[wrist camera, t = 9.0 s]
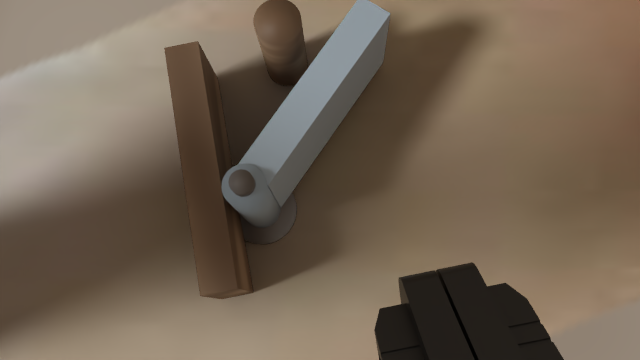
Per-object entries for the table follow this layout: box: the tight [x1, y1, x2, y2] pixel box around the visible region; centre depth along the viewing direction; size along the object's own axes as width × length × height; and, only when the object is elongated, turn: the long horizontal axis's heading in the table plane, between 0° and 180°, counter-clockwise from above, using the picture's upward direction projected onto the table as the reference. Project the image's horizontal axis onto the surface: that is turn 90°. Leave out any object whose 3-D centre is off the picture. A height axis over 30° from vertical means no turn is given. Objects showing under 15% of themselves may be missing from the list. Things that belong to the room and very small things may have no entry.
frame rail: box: [165, 41, 297, 299], centre depth 37 cm, size 6×16×9 cm, turn 11°
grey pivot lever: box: [221, 0, 391, 228], centre depth 38 cm, size 15×3×8 cm, turn 146°
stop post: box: [254, 0, 308, 86], centre depth 40 cm, size 3×3×7 cm
